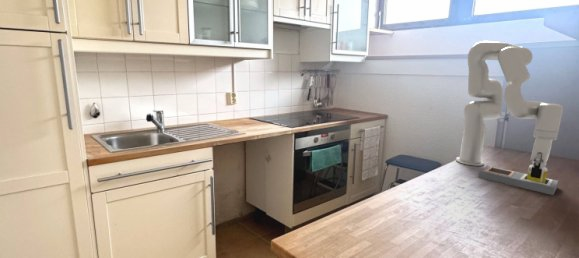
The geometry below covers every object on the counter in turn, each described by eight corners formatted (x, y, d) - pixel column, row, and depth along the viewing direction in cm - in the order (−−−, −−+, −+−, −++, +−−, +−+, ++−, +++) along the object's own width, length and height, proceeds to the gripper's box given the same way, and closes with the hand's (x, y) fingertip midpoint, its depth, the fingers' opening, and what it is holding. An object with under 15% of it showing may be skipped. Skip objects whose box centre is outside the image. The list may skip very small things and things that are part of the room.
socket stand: (486, 171, 150) (487, 164, 149) (556, 187, 132) (558, 180, 131) (478, 177, 142) (479, 170, 141) (553, 195, 124) (554, 187, 123)
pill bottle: (537, 184, 135) (542, 159, 133) (547, 189, 129) (553, 163, 127) (522, 183, 136) (526, 158, 134) (531, 188, 130) (536, 162, 128)
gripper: (537, 130, 136) (529, 168, 140) (529, 135, 124) (522, 177, 128) (560, 133, 131) (551, 172, 135) (554, 139, 119) (545, 182, 123)
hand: (537, 174), depth 131 cm, fingers open, 9 cm apart
